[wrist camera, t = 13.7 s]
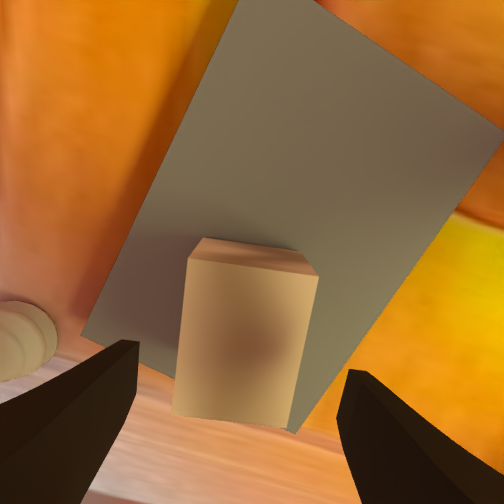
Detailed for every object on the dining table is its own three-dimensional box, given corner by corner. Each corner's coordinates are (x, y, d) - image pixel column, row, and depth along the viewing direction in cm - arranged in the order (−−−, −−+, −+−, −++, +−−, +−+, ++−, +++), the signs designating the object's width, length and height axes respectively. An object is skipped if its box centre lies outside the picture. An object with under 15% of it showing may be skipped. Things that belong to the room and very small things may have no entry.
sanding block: (299, 249, 16) (319, 276, 12) (276, 365, 18) (286, 428, 13) (204, 235, 16) (187, 257, 11) (190, 355, 17) (171, 414, 13)
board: (485, 137, 16) (508, 133, 15) (291, 415, 20) (295, 434, 19) (256, -17, 14) (256, -39, 13) (93, 322, 18) (80, 335, 17)
